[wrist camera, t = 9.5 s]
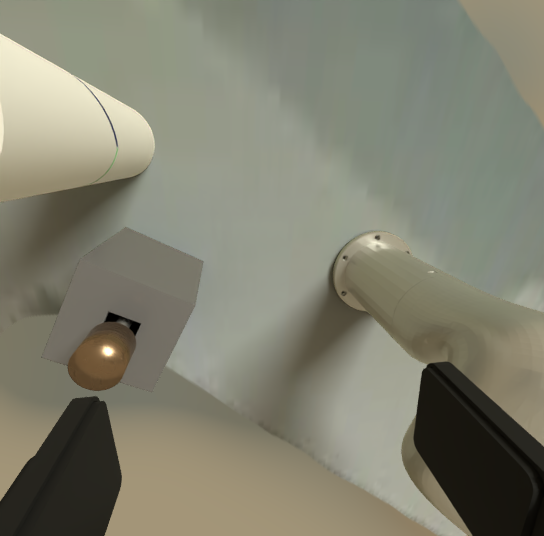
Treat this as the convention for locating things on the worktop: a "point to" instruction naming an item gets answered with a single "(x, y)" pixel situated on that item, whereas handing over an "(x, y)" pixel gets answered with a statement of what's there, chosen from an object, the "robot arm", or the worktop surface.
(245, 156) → the worktop surface
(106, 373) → the plunger
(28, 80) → the container
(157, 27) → the worktop surface
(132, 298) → the grey box
